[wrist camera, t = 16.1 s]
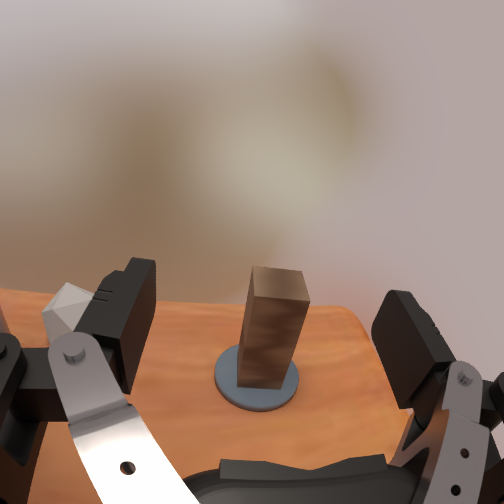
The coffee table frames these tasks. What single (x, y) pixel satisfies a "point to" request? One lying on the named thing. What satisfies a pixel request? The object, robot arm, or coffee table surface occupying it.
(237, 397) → the slate dish
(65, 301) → the die
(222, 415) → the coffee table surface
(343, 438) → the coffee table surface
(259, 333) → the walnut block
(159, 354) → the coffee table surface
